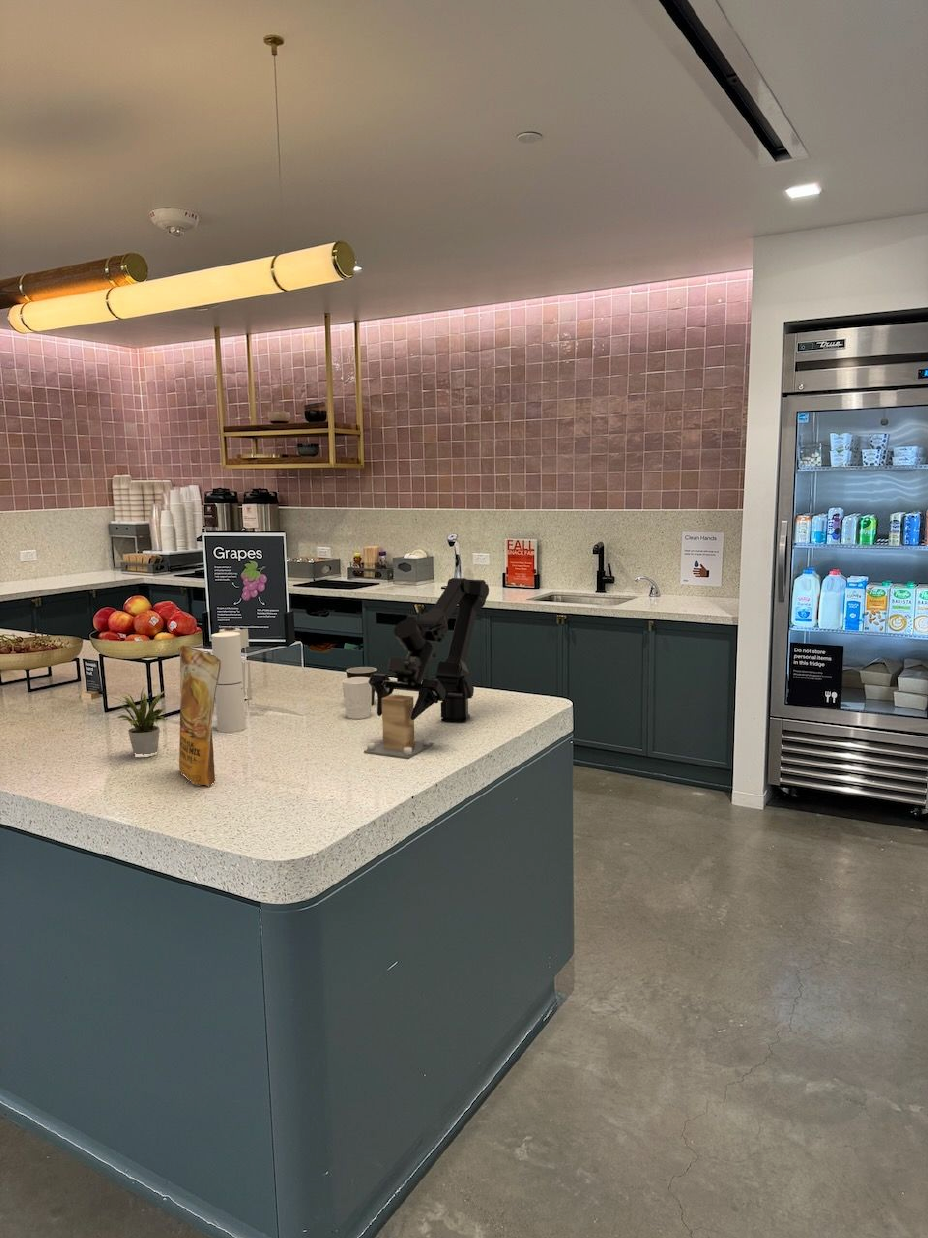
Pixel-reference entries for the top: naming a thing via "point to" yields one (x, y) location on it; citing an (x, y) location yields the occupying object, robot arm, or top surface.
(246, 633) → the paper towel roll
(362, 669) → the coffee mug
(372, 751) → the peg plate
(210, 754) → the pancake mix bag
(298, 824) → the top surface
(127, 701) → the house plant
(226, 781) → the top surface
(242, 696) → the cylindrical container
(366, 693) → the white cup
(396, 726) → the wooden block
